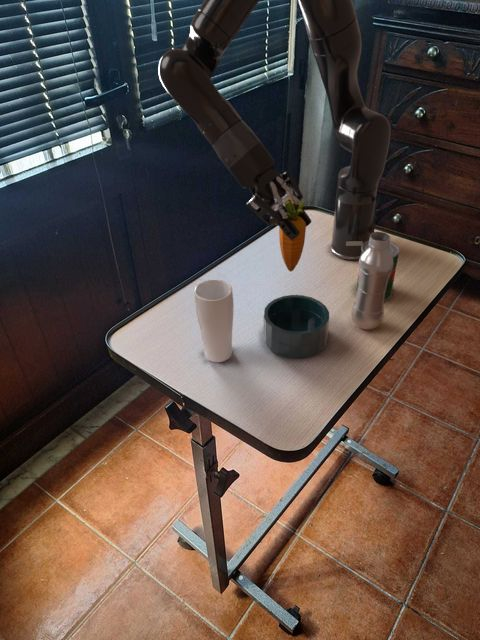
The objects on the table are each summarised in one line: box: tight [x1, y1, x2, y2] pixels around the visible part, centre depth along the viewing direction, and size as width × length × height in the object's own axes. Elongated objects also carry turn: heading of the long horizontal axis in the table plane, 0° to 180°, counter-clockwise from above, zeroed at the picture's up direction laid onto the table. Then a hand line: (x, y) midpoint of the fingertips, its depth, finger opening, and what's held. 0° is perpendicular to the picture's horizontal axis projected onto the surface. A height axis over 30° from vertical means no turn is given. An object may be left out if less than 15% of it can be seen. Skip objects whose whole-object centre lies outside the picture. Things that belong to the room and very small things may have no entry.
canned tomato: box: [355, 241, 400, 302], centre depth 112 cm, size 8×8×11 cm
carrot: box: [278, 200, 307, 272], centre depth 98 cm, size 5×5×15 cm
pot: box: [263, 294, 330, 359], centre depth 101 cm, size 13×13×6 cm
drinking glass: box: [193, 279, 235, 363], centre depth 95 cm, size 7×7×15 cm
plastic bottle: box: [351, 231, 393, 330], centre depth 100 cm, size 6×7×20 cm
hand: (301, 230), depth 96 cm, fingers closed on carrot, 4 cm apart
